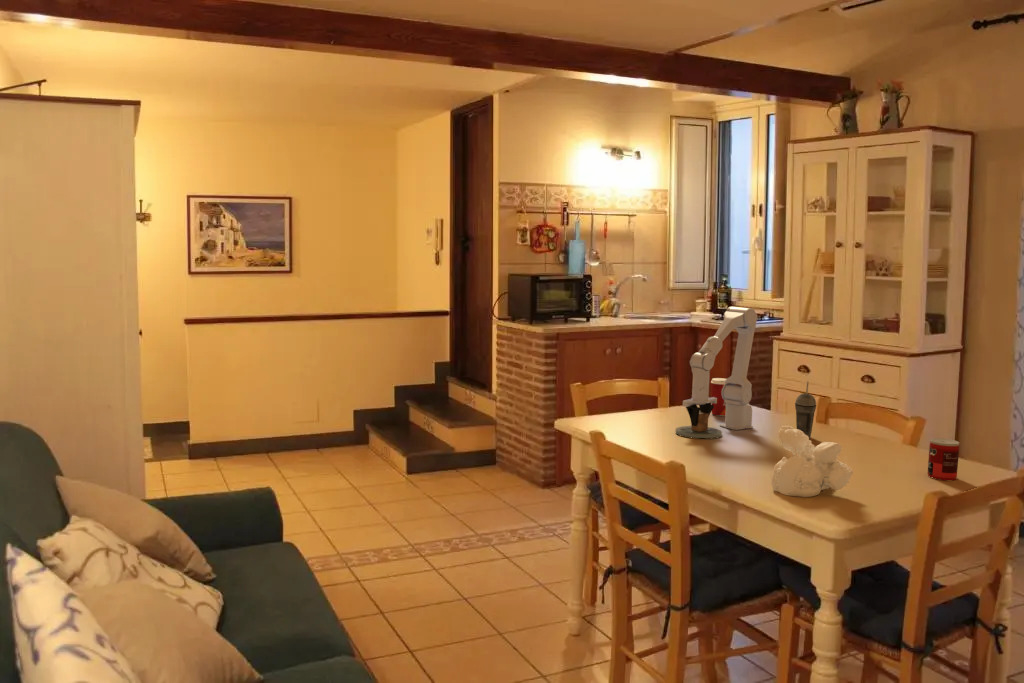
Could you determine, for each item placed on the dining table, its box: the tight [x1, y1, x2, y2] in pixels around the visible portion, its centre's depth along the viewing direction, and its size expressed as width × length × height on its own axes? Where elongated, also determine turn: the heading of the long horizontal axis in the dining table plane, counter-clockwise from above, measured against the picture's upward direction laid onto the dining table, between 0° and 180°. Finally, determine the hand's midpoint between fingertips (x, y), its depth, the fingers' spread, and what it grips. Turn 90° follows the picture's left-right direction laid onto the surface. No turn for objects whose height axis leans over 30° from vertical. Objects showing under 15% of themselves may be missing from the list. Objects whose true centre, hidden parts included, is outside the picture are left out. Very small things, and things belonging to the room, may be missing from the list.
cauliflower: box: [771, 424, 854, 498], centre depth 251 cm, size 19×20×20 cm
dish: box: [675, 425, 723, 439], centre depth 321 cm, size 16×16×1 cm
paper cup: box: [710, 377, 727, 416], centre depth 356 cm, size 8×8×14 cm
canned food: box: [927, 437, 960, 481], centre depth 269 cm, size 8×8×11 cm
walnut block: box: [690, 412, 710, 432], centre depth 320 cm, size 4×4×6 cm
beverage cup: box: [794, 381, 817, 439], centre depth 318 cm, size 7×7×20 cm
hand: (698, 425), depth 321 cm, fingers closed on walnut block, 4 cm apart
